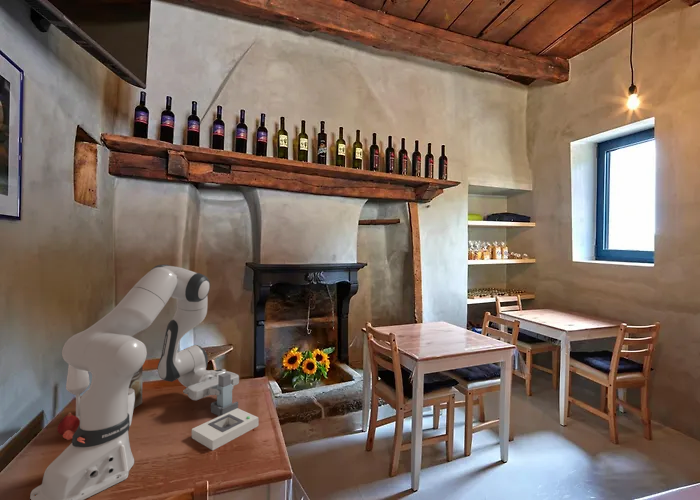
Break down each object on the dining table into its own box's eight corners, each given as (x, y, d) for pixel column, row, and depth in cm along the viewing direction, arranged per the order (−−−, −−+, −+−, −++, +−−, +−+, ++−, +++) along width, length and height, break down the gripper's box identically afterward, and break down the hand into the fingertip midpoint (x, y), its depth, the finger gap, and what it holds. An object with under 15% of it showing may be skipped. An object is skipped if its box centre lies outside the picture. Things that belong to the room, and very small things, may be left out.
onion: (56, 443, 109) (56, 419, 109) (58, 435, 114) (58, 411, 113) (79, 437, 112) (79, 413, 112) (80, 430, 117) (80, 407, 117)
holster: (221, 417, 126) (221, 409, 126) (209, 411, 131) (209, 403, 131) (238, 409, 132) (238, 402, 132) (226, 404, 137) (226, 397, 136)
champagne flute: (84, 424, 121) (84, 357, 121) (61, 426, 119) (61, 359, 119) (93, 415, 127) (93, 351, 127) (72, 417, 125) (71, 353, 125)
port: (212, 450, 106) (212, 439, 106) (191, 437, 113) (191, 427, 112) (258, 425, 120) (258, 416, 120) (237, 416, 127) (237, 407, 127)
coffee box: (127, 413, 128) (127, 371, 128) (110, 413, 129) (110, 371, 129) (143, 402, 138) (143, 363, 138) (127, 402, 138) (127, 363, 138)
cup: (119, 435, 114) (119, 400, 114) (97, 432, 116) (97, 397, 115) (141, 422, 123) (141, 389, 122) (120, 419, 124) (120, 386, 124)
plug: (223, 414, 129) (223, 377, 129) (216, 411, 131) (216, 375, 131) (232, 409, 132) (232, 374, 132) (225, 407, 134) (225, 372, 134)
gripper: (180, 382, 130) (200, 391, 122) (226, 367, 147) (247, 374, 139) (180, 399, 130) (200, 409, 122) (226, 382, 147) (247, 389, 139)
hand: (225, 390), depth 131 cm, fingers closed on plug, 4 cm apart
